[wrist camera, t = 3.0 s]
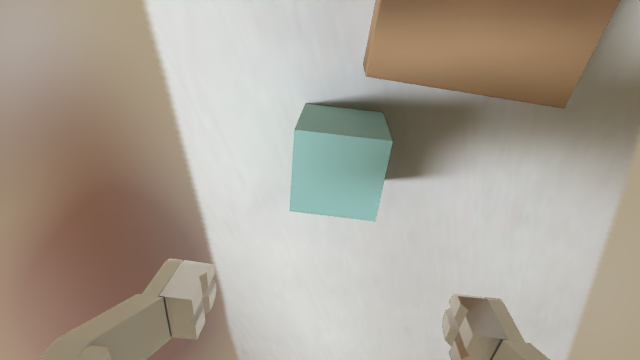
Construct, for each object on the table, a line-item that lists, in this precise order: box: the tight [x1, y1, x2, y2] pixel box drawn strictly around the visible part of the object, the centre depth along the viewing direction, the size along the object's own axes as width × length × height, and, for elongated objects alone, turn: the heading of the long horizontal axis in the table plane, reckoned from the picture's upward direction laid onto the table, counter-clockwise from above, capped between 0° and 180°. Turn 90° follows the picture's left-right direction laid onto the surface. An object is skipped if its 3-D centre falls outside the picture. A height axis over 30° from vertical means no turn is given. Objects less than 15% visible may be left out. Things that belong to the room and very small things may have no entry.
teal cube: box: [290, 103, 393, 221], centre depth 20 cm, size 5×5×5 cm
